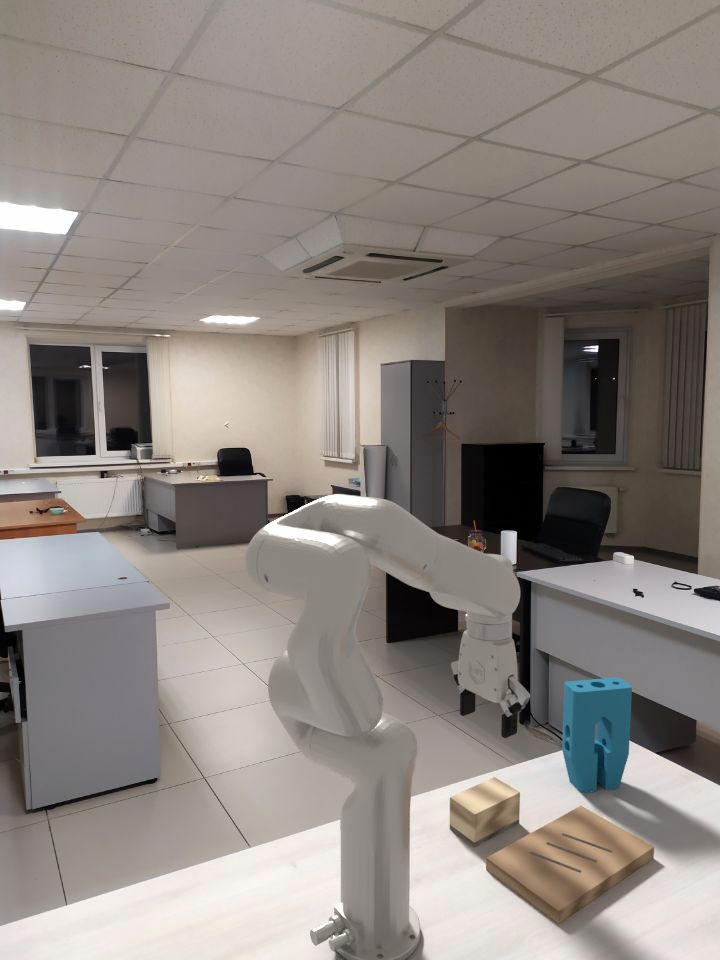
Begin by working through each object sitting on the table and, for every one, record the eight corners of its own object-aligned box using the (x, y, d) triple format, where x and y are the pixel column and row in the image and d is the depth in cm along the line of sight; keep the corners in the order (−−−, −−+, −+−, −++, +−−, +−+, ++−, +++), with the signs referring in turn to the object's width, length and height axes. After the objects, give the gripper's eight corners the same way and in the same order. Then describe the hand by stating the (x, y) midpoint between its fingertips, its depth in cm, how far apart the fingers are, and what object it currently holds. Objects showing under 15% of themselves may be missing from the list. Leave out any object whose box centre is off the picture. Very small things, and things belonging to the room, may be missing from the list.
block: (614, 773, 135) (619, 677, 133) (629, 787, 130) (634, 687, 128) (559, 779, 133) (562, 681, 131) (572, 794, 128) (575, 692, 126)
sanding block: (474, 848, 113) (475, 814, 112) (449, 829, 118) (450, 797, 117) (519, 824, 119) (520, 792, 119) (493, 807, 124) (494, 777, 123)
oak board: (558, 924, 96) (559, 910, 96) (486, 869, 107) (486, 857, 107) (653, 858, 110) (654, 846, 110) (580, 816, 121) (580, 805, 121)
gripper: (437, 619, 119) (437, 711, 122) (513, 648, 105) (511, 751, 108) (468, 611, 124) (467, 700, 126) (544, 637, 110) (542, 737, 112)
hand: (487, 724), depth 117 cm, fingers open, 9 cm apart
